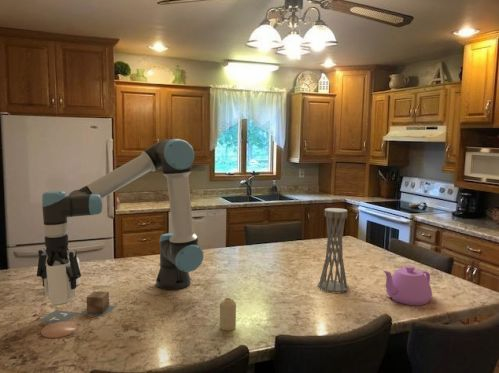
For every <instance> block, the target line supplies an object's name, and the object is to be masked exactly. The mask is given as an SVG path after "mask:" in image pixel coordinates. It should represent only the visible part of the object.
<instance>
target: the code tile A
mask: <svg viewBox="0 0 499 373" xmlns="http://www.w3.org/2000/svg"><path fill="white" fill-rule="evenodd" d="M79 313H80V312H78V311H77V312H76V311H75V312H74V311H68V310H57V309H55V310H54V311H52V312H50V313H49V314H47V315H45V316H44V317H42V318H40V319H39V320H37V322H41V323H49V324H53V323H57V322H64V321H71V319H73V318H74V317H76V316H78V315H80V314H79Z"/></svg>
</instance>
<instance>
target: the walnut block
mask: <svg viewBox="0 0 499 373" xmlns="http://www.w3.org/2000/svg"><path fill="white" fill-rule="evenodd" d="M109 305H110V292H109V291H95V290H94V291H93V290H92V292H91V293H89V295H87V296H86V309H87V313H104V312H105V311H106V310H107V309H108V308H109Z"/></svg>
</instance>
